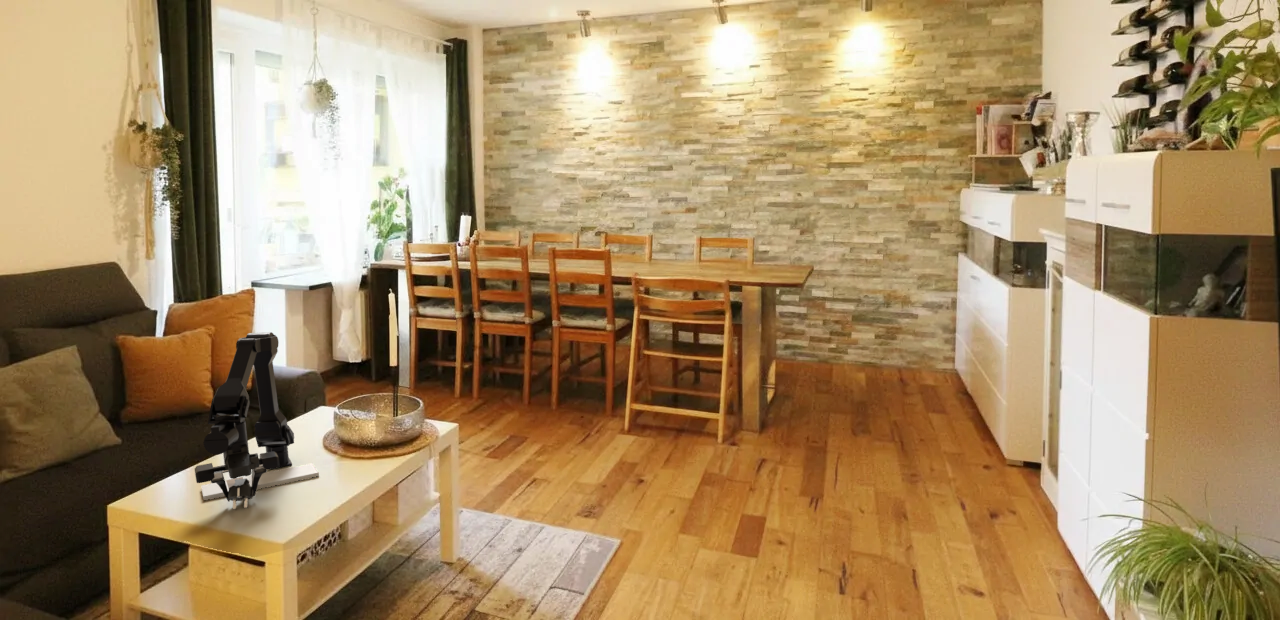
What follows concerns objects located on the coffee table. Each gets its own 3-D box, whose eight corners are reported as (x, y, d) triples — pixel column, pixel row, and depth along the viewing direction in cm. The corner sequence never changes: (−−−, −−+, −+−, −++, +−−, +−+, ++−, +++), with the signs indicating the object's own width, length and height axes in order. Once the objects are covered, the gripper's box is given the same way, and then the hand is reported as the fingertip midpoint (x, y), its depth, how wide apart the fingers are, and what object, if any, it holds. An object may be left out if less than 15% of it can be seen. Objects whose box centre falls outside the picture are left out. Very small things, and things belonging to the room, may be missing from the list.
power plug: (261, 486, 205) (250, 475, 194) (260, 514, 202) (249, 505, 191) (237, 489, 203) (226, 477, 193) (236, 517, 200) (224, 508, 190)
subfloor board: (201, 489, 205) (201, 485, 205) (313, 467, 220) (312, 462, 220) (203, 500, 198) (203, 496, 198) (318, 476, 213) (318, 472, 213)
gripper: (194, 457, 182) (201, 519, 185) (280, 441, 192) (286, 500, 195) (191, 444, 191) (198, 503, 194) (273, 429, 201) (279, 485, 204)
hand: (241, 498), depth 196 cm, fingers closed on power plug, 5 cm apart
